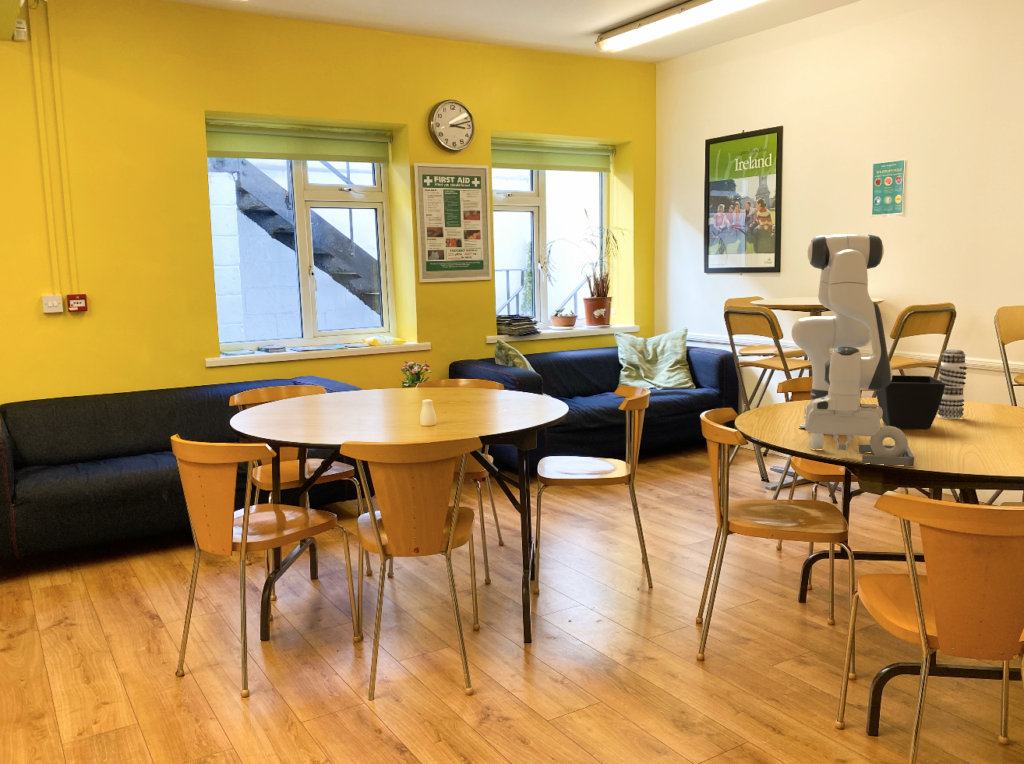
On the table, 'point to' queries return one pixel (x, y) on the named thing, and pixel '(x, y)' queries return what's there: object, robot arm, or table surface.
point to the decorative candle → (952, 384)
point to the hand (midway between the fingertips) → (842, 449)
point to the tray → (886, 457)
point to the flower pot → (910, 401)
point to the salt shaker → (816, 441)
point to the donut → (895, 434)
